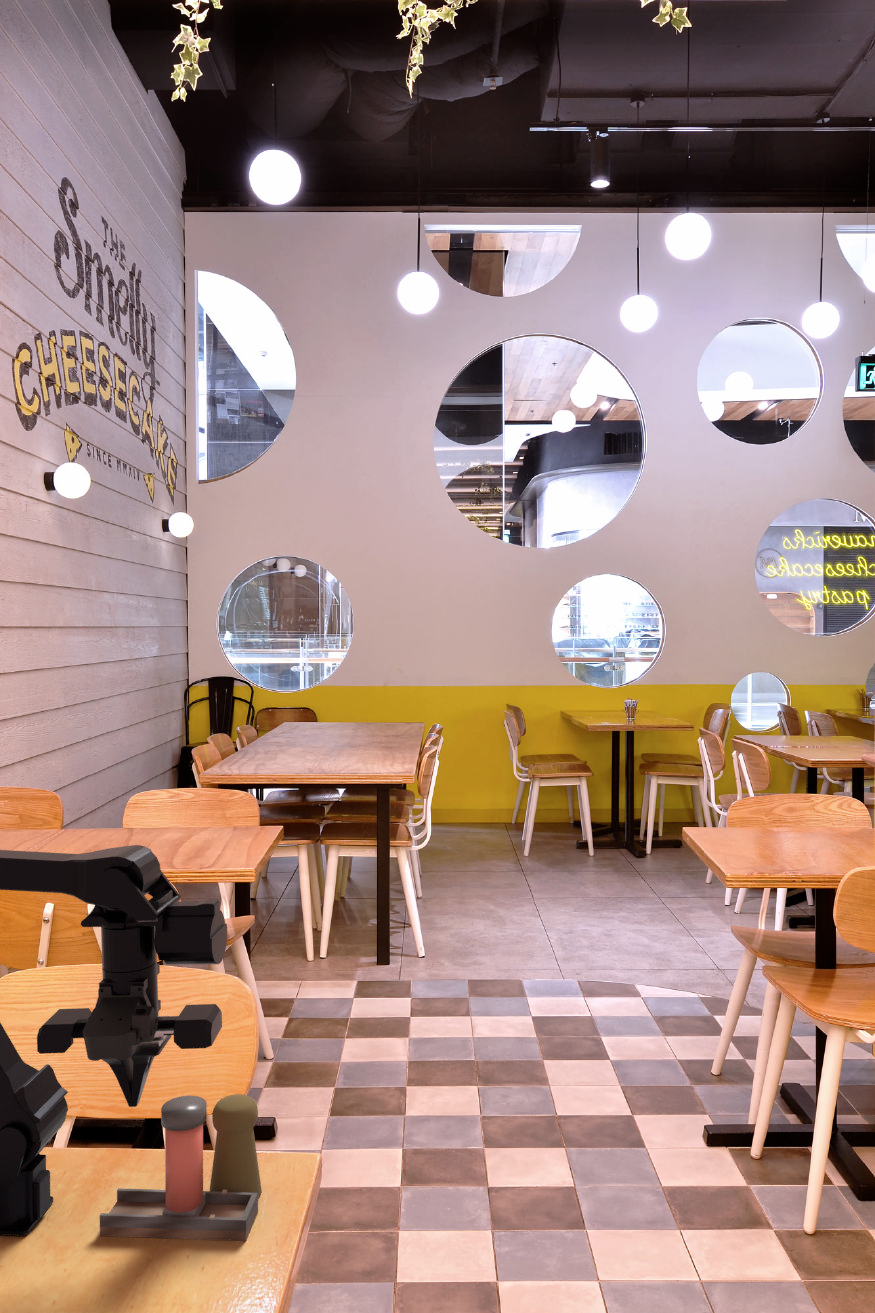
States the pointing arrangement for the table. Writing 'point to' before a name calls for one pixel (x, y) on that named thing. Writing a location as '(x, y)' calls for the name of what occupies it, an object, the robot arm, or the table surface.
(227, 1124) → the olive rounded upright piece
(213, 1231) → the track
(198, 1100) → the plug
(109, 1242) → the table surface
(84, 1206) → the table surface
